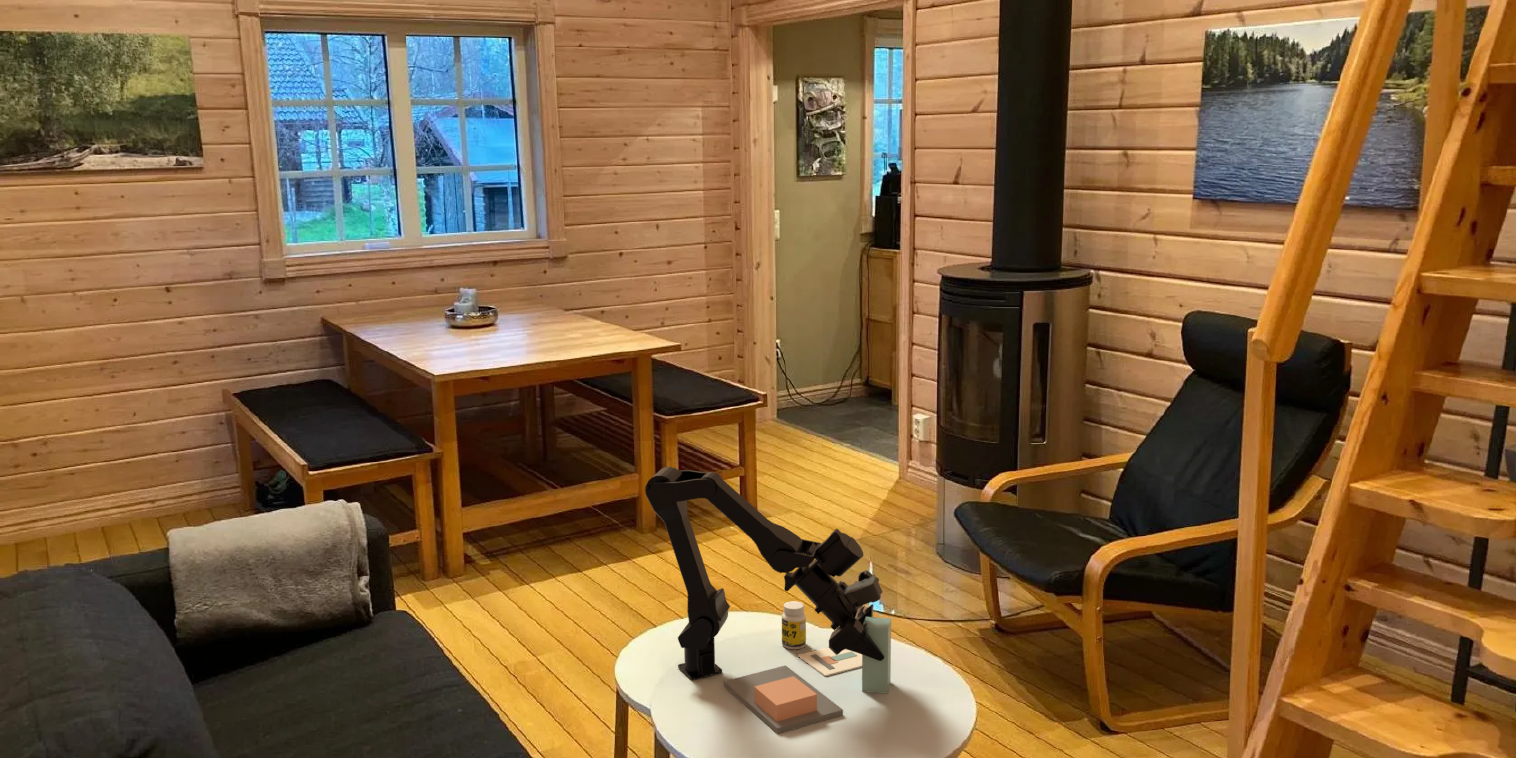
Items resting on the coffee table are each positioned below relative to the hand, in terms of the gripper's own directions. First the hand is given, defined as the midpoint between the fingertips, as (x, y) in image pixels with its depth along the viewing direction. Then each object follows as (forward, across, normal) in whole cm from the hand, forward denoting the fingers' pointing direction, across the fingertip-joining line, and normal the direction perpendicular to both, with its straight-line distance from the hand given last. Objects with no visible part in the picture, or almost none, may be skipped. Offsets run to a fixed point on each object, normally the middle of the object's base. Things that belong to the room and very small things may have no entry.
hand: (884, 653), depth 207 cm
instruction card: (-2, +10, +11) cm, 15 cm away
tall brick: (+4, 0, +6) cm, 7 cm away
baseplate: (-8, -8, +17) cm, 20 cm away
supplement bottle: (-9, +15, +19) cm, 25 cm away
